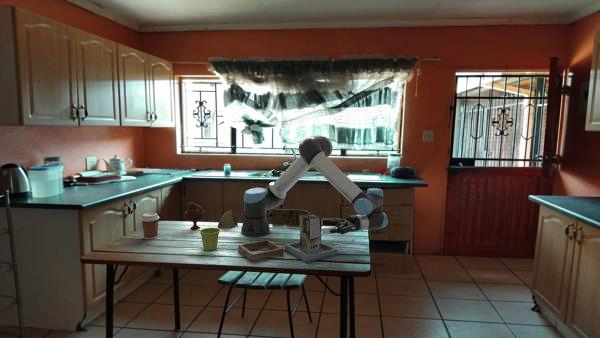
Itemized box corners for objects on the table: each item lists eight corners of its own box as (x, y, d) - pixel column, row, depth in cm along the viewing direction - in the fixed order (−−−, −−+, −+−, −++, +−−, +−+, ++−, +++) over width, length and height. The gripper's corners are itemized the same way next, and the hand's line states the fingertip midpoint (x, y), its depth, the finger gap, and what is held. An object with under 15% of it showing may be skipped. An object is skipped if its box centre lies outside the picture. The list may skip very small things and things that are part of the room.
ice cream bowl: (199, 231, 195) (199, 204, 193) (181, 230, 197) (180, 203, 195) (208, 226, 205) (208, 200, 203) (190, 225, 207) (189, 199, 206)
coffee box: (322, 252, 160) (322, 217, 158) (309, 255, 157) (309, 219, 155) (311, 246, 168) (311, 213, 166) (299, 249, 165) (299, 214, 163)
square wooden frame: (238, 251, 164) (238, 244, 164) (267, 245, 172) (267, 239, 172) (252, 261, 152) (252, 254, 152) (283, 255, 160) (283, 248, 160)
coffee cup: (139, 236, 186) (138, 213, 184) (157, 233, 191) (156, 211, 190) (143, 241, 178) (142, 217, 177) (162, 237, 184) (161, 214, 183)
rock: (213, 224, 201) (228, 223, 198) (216, 210, 205) (231, 209, 202) (222, 231, 210) (237, 231, 207) (225, 218, 214) (240, 217, 211)
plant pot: (224, 246, 171) (224, 228, 170) (213, 253, 162) (213, 234, 161) (207, 244, 174) (207, 226, 173) (195, 250, 165) (195, 232, 164)
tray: (285, 250, 166) (285, 244, 165) (313, 244, 174) (313, 238, 174) (306, 263, 151) (306, 256, 150) (336, 255, 159) (337, 249, 159)
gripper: (371, 238, 158) (328, 244, 150) (343, 224, 181) (304, 228, 173) (372, 221, 158) (328, 226, 150) (343, 209, 180) (305, 213, 172)
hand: (315, 227), depth 161 cm, fingers open, 13 cm apart
